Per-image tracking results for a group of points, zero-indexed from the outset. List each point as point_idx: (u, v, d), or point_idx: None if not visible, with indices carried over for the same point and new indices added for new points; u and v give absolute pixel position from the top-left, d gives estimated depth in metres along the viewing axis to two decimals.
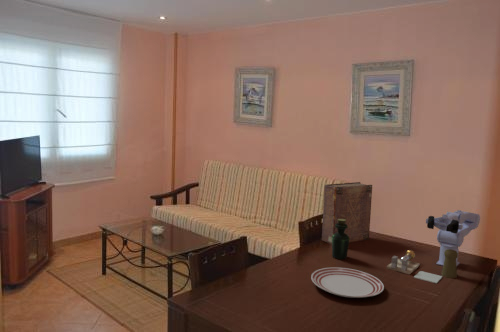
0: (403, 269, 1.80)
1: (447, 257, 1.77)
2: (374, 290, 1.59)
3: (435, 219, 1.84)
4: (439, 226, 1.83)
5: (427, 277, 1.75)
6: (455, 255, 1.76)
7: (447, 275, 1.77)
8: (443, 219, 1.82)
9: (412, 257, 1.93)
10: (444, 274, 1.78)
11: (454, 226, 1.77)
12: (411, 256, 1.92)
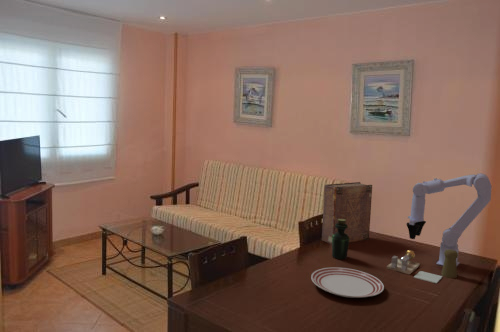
0: (403, 269, 1.80)
1: (447, 257, 1.77)
2: (374, 290, 1.59)
3: None
4: None
5: (427, 277, 1.75)
6: (455, 255, 1.76)
7: (447, 275, 1.77)
8: None
9: (412, 257, 1.93)
10: (444, 274, 1.78)
11: None
12: (411, 256, 1.92)
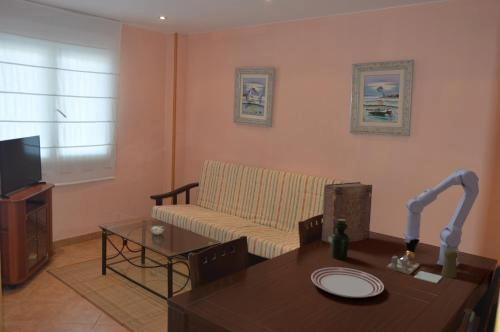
0: (403, 269, 1.80)
1: (447, 257, 1.77)
2: (374, 290, 1.59)
3: None
4: None
5: (427, 277, 1.75)
6: (455, 255, 1.76)
7: (447, 275, 1.77)
8: None
9: (411, 257, 1.92)
10: (444, 274, 1.78)
11: None
12: (410, 256, 1.92)
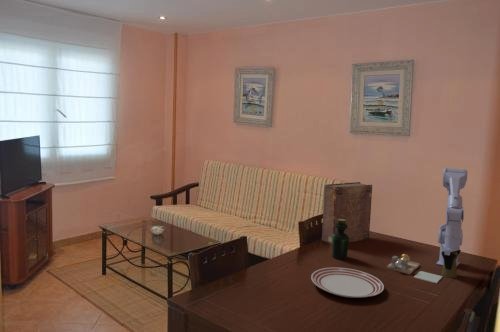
0: (403, 269, 1.80)
1: None
2: (374, 290, 1.59)
3: None
4: None
5: (427, 277, 1.75)
6: None
7: (447, 275, 1.77)
8: None
9: None
10: (444, 274, 1.78)
11: None
12: None
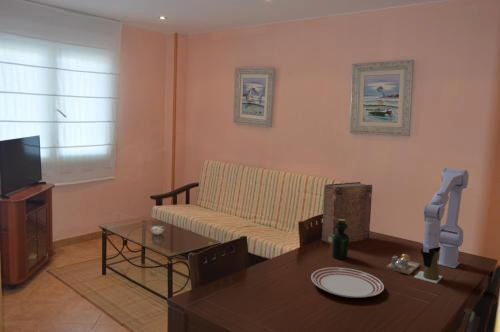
0: (403, 269, 1.80)
1: None
2: (374, 290, 1.59)
3: None
4: None
5: None
6: (436, 256, 1.72)
7: (429, 277, 1.73)
8: None
9: None
10: (426, 276, 1.74)
11: None
12: None
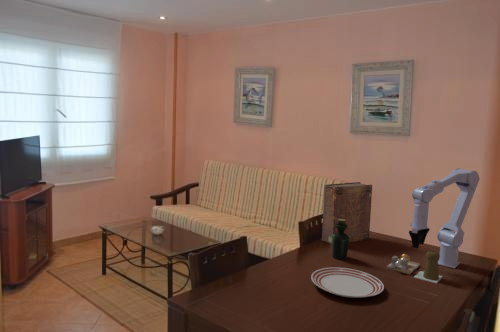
0: (403, 269, 1.80)
1: (429, 259, 1.73)
2: (374, 290, 1.59)
3: None
4: None
5: None
6: (437, 257, 1.72)
7: (429, 277, 1.73)
8: None
9: None
10: (426, 276, 1.74)
11: None
12: None
